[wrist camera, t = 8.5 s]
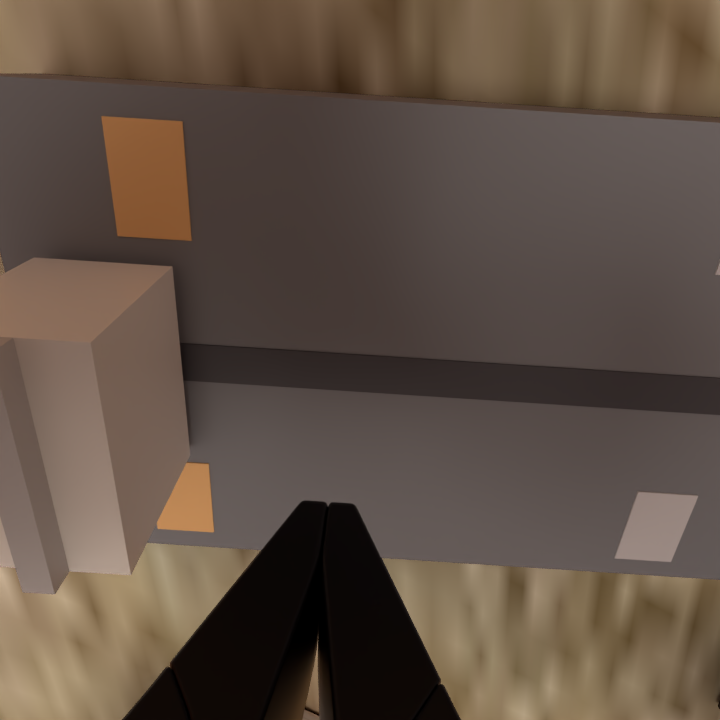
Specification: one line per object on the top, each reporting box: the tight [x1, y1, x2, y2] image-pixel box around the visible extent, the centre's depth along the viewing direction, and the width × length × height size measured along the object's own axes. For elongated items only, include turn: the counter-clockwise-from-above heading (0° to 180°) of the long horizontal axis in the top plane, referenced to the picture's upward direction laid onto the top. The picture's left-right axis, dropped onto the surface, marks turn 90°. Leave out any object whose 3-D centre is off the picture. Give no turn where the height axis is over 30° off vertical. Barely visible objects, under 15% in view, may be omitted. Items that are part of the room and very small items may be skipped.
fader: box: [0, 257, 190, 594], centre depth 11 cm, size 3×5×4 cm, turn 177°
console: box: [0, 74, 720, 580], centre depth 15 cm, size 20×12×3 cm, turn 87°
